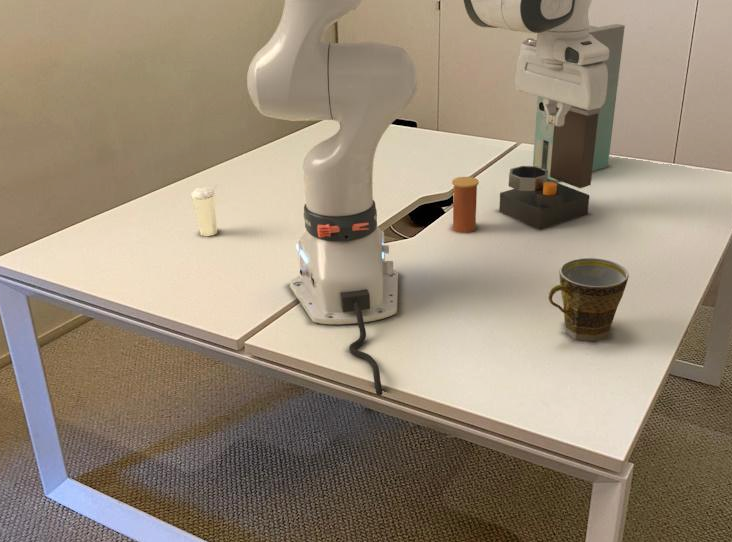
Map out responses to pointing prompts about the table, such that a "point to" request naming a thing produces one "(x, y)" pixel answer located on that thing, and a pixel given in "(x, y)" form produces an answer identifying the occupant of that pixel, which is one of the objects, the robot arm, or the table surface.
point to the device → (544, 131)
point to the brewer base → (544, 205)
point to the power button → (549, 188)
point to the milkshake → (205, 210)
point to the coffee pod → (464, 204)
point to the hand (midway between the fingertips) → (555, 124)
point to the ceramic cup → (590, 296)
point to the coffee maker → (564, 154)
